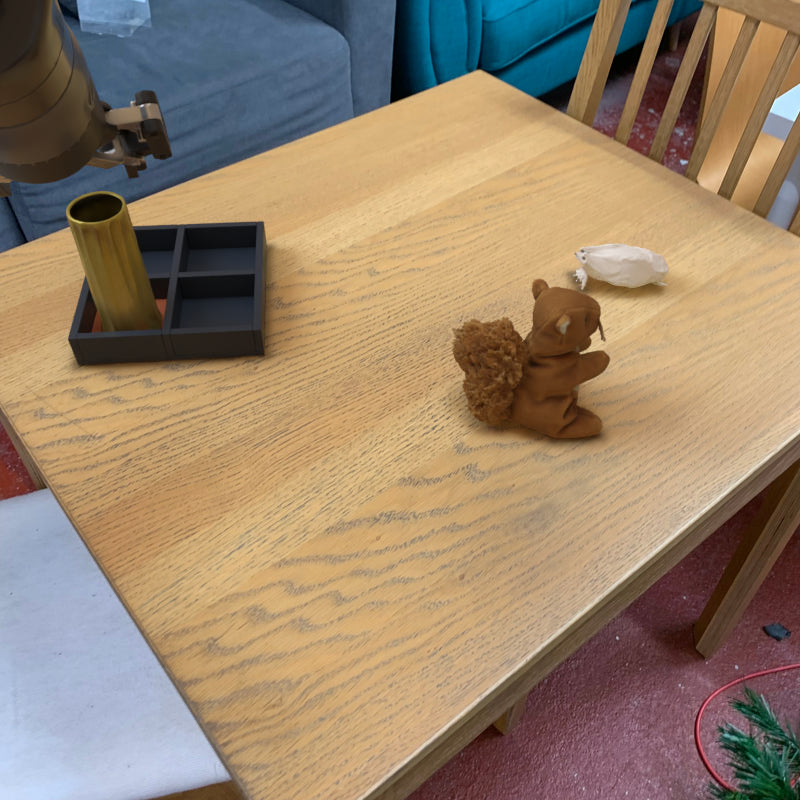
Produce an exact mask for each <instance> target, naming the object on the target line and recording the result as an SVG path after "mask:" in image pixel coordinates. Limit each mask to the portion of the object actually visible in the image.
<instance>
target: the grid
mask: <svg viewBox="0 0 800 800" xmlns="http://www.w3.org/2000/svg"><path fill="white" fill-rule="evenodd" d="M133 228H134V232H135V235H136V239H137V243H138V247H139V250H140V253H141V256H142V259H143V262H144V265H145V268H146V271H147V274H148V278H149V281H150V285H151V289H152V292H153V295H154V298H155V301H156V304H157V307H158V309H159V311H160V313H161V314H162V326H161V328H160V329H154V330H134V331H114V332H102V329H101V318H100V315H99V313H98V310H97V308H96V306H95V303H94V300H93V297H92V294H91V291H90V288H89V284H88V281H87V278H86V275H84V278H83V282H82V286H81V290H80V293H79V297H78V301H77V303H76V308H75V311H74V315H73V319H72V322H71V326H70V330H69V333H68V335H67V342H68V343H69V346H70V349H71V351H72V353H73V355H74V358H75V361H76V363H77V366H89V365H90V366H91V365H111V364H129V363H147V362H148V363H149V362H166V361H168V362H169V361H184V360H185V361H186V360H187V361H188V360H202V359H203V360H206V359H223V358H243V357H260V356H261V357H262V356H265V354H266V317H267V315H266V312H267V311H266V309H267V271H268V270H267V268H268V267H267V266H268V265H267V264H268V244H267V243H268V242H267V237H266V228H265V221H264V220H259V221H256V220H255V221H254V220H253V221H235V222H234V221H232V222H231V221H229V222H227V221H226V222H205V223H202V222H201V223H186V224H185V223H181V224H177V223H176V224H154V225H152V224H151V225H133Z"/></svg>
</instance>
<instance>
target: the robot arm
mask: <svg viewBox="0 0 800 800" xmlns="http://www.w3.org/2000/svg"><path fill="white" fill-rule="evenodd" d="M134 99H135V100H131V101H130V102H129V106H126V107H119V108H113V107H112V106H111V105H110V104H109V103H108V102H106V101H104V100H103V99H102V100H101V99H100V96H99V93H98V90H97V87H96V84H95V82H94V79H93V77H92V73H91V71H90V68H89V66H88V63H87V59H86V57H85V55H84V52H83V50H82V47H81V45H80V43H79V41H78V39H77V37H76V35H75V34H74V32H73V31H72V29H71V27H70V26H69V25H68V23H67V21H66V20H65V18H64V14H63V13H62V9H61V6H60V5H59V1H58V0H0V198H6V197H12V195H13V193H12V188H11V183H12V182H18V183H23V184H30V185H42V184H43V185H45V184H52V183H57V182H60V181H63V180H66V179H67V178H70V177H71V176H73V175H75V174H76V173H78V172H79V171H81V170H82V169H83V168H84V167H85V166H88V167H93V168H98V169H106V170H109V169H112V168H115V167H118V166H120V165H124V168H125V169H124V170H125V172H126V174H127V177H128V179H129V180H131V179H137V178H140V176H139V172H143V171H145V170H147V168H148V166H147V161H146V157H148V156H151V155H152V157H153V159H155V160H160V161H165V160H167V159H170V158H172V157H173V152H172V148H171V143H170V138H169V134H168V129H167V125H166V121H165V117H164V114H163V112H162V108H161V106H160V102H159V99H158V97H157V94H156V92H155V91H154V90H149V89H143V90H140V91H137V92H135V94H134Z"/></svg>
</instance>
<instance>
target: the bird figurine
mask: <svg viewBox="0 0 800 800" xmlns="http://www.w3.org/2000/svg"><path fill="white" fill-rule="evenodd" d="M574 255H575V259H576V261H579V263H581V267H579V268H577V269H575V273H573V277H576V280H575V282H577V281H579V282H580V284H578V285H579V286H581V291H583V290H584V289H585V287H586V284H587V282H588V280H589V277H591V278H593V279H594V280H596V281H601V282H606V283H609V284H610V285H613V286H615V287H626V288H629V289H635V288H639V287H643V286H645V285H648V284H652V285H655V286H657V287H668V284H666V283H665V282H664V280H665V278H666V277H667V275H669V271H670V270H669V265H668V263H667V260H666V259H665V257H664V256H663V255H661V254H659V253H656V252H654V251H652V250H651V249H648V248H644V247H640V246H633V245H629V244H627V243H623V242H621V243H605V244H599V245H588V246H582V247H581V248H580V250H579V251H576V250H574Z"/></svg>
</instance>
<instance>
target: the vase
mask: <svg viewBox="0 0 800 800" xmlns="http://www.w3.org/2000/svg"><path fill="white" fill-rule="evenodd" d="M128 208H129V207H128V205H127V203H126V201H125V199H124V197H123V196H122V195H120V194H117V192H116V193H115V192H112V191H108V190H97V191H91V192H87V193H84V194H82V195H79V196H78V197H76V198H75V199H73V200H72V201H71V202H69V203H68V205H67V206H66V209H65V215H66V220H67V222H68V225H69V229H70V231H71V235H72V237H73V241H74V244H75V246H76V249H77V252H78V255H79V259H80V262H81V266H82V269H83V271H84V274H85V275H86V278H87V281H88V284H89V288H90V291H91V294H92V297H93V300H94V303H95V306H96V308H97V310H98V313H99V315H100V318H101V329H102V332H114V331H134V330H154V329H160V328H161V326H162V314H161V313H160V311H159V309H158V307H157V304H156V301H155V298H154V295H153V292H152V289H151V285H150V281H149V278H148V274H147V271H146V268H145V265H144V262H143V259H142V256H141V253H140V250H139V247H138V243H137V239H136V235H135V232H134V228H133V226H134V225H133V222H132V218H131V215H130V213H129V209H128ZM85 275H84V276H85Z"/></svg>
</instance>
